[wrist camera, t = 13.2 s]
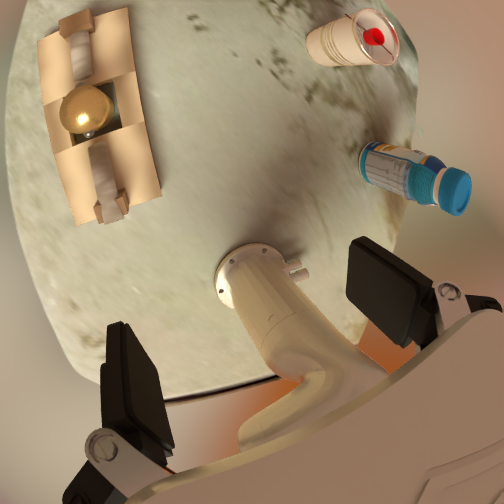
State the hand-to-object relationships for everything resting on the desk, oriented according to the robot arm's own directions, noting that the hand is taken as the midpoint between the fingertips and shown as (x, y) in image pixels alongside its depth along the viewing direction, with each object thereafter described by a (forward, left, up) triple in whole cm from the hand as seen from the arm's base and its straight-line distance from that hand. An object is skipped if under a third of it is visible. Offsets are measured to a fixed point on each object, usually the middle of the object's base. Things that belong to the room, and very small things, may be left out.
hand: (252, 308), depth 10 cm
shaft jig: (+8, -11, -28) cm, 31 cm away
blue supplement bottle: (-35, +5, -28) cm, 45 cm away
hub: (+8, -11, -28) cm, 31 cm away
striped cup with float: (-26, -16, -28) cm, 42 cm away
